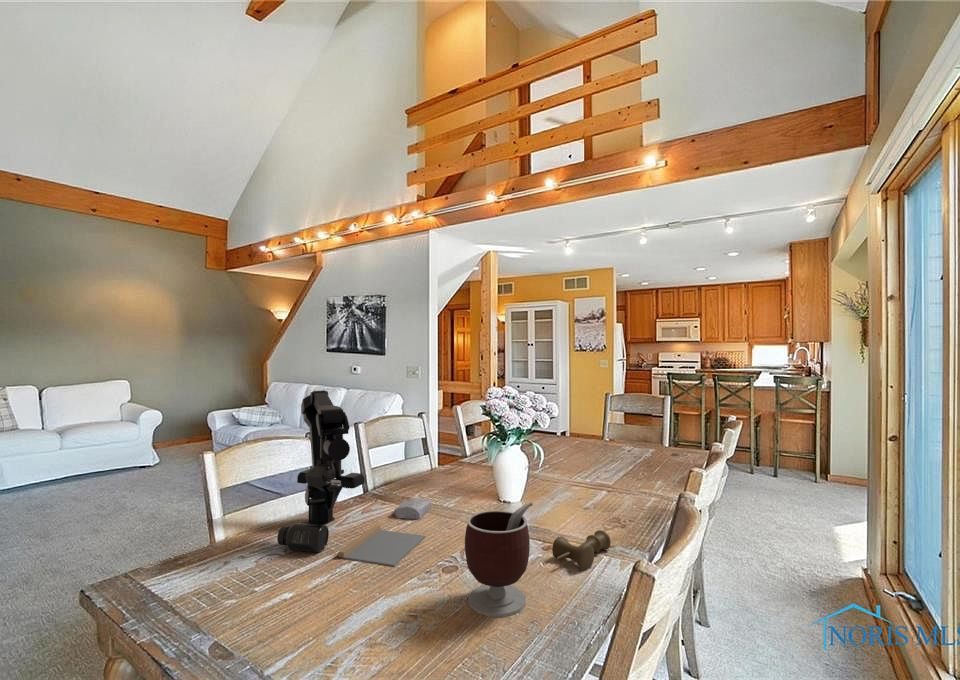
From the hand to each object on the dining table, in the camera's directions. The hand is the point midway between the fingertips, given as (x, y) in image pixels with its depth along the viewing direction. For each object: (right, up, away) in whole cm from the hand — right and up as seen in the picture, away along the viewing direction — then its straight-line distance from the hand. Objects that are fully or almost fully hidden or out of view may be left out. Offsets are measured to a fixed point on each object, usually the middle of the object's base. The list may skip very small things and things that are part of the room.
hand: (330, 508), depth 134 cm
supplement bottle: (+1, -5, -8) cm, 9 cm away
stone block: (+20, -10, +22) cm, 31 cm away
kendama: (+68, -9, -12) cm, 70 cm away
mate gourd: (+47, -9, -32) cm, 57 cm away
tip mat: (+16, -9, -5) cm, 19 cm away
